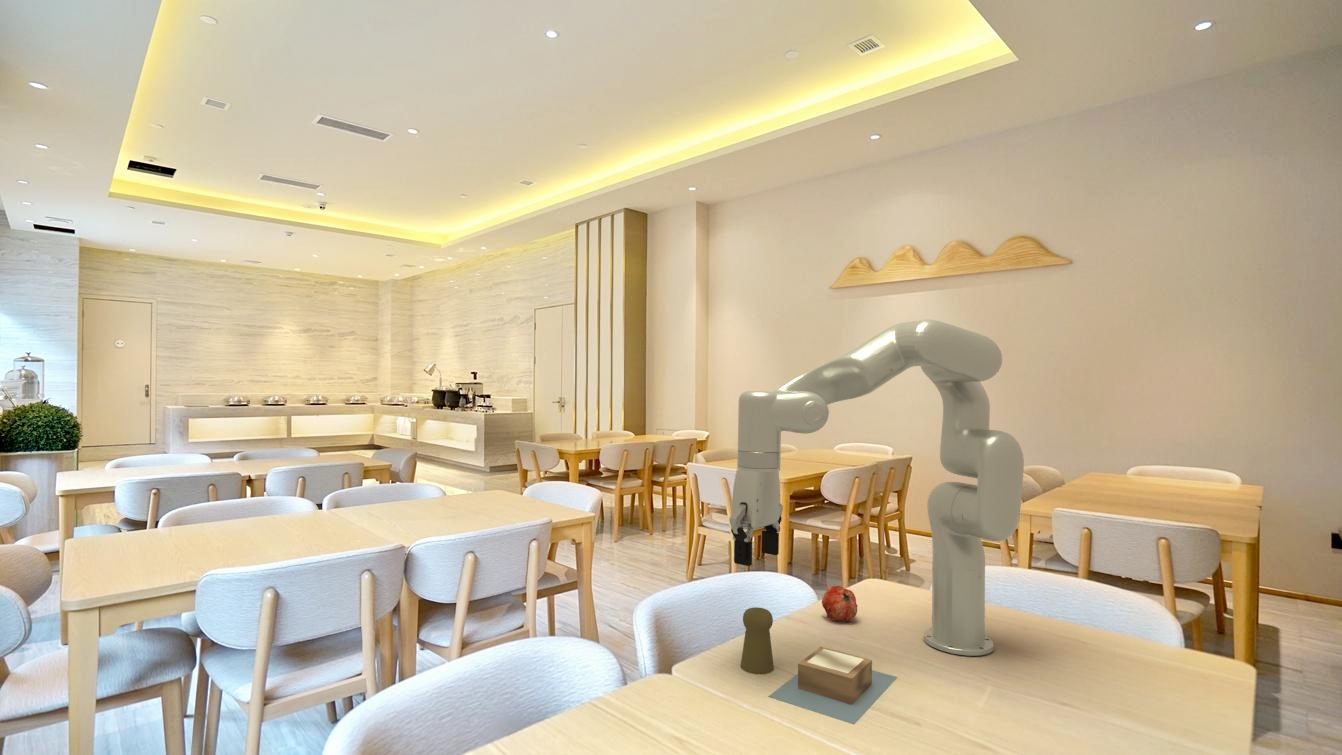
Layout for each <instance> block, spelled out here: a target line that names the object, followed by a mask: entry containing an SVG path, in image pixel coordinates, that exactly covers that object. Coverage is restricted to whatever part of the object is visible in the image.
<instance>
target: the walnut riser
mask: <svg viewBox="0 0 1342 755" xmlns="http://www.w3.org/2000/svg"><path fill="white" fill-rule="evenodd" d="M872 670H873V659H869V658H867V657H862V656H858V655H854V654H850V653H846V652H844V651H839V650H835V649H831V648H826V647H824V646H820V647H818V648H817V649H815V650H814V651H813V652H812V653H810V654H809V655H808V656H806V657H805V658H803V659H802V660H801V661H800V662H798V663H797V674H798V689H801V690H804V691H808V692H811V693H814V694H818V695H821V696H824V697H827V698H831V699H834V700H837V701H841V702H844V703H847V704H850V705H852V704H853V703H854V702H855V701H856V700H857V699H858V698H859V697H860V696H861V695H862V694H863V693H864V692H865V691H866V690H867V689H868V688H869V687H870V686H871V685H872Z"/></svg>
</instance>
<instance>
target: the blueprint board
mask: <svg viewBox="0 0 1342 755" xmlns="http://www.w3.org/2000/svg"><path fill="white" fill-rule="evenodd" d="M897 679H898V676H894V675H893V674H889V673H883V672H880V671H877V670H876V671H875V670H873V669H872V685H871V686H870V687H869V688H868V689H867V690H866V691H865V692H864V693H863V694H862V695H861V696H860V697H859V698H858V699H857V700H856V701H855V702H854V703H853V704H852V705H850V704H847V703H844V702H841V701H837V700H834V699H831V698H827V697H824V696H821V695H818V694H814V693H811V692H808V691H804V690H801V689H798V673H797V674H795V675H794V676H793V677H791V678H790V679H788V680H787V681H786V682H785V683H783V684H782V685H781V686H780V687H778V688H777V689H775V691H774V692H772V693H771V694H769V695H768V696H767V697H768V698H770V699H773V700H774V699H775V700H776V701H779V702H783V703H786V704H789V705H793V706H795V707H798V708H801V709H805V710H808V711H812V712H814V713H817V714H820V715H824V716H826V717H831V718H833V719H836V720H839V721H842V722H845V723H848V724H852V725H855V724H856V723H857V722H858V721H859V720H860V719H861V718H862V717H863V716H864V715H865V713H867V711H869V709H870V708H871V707H872V705H874V703H876V702H877V700H878V699H879V698H880V697H881V696H882V695H883V694H884V693H885V692H886V691H887V689H889V688H890V687H891V686H892V684H893V683H894V682H895V681H896V680H897Z"/></svg>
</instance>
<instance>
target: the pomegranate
mask: <svg viewBox="0 0 1342 755" xmlns="http://www.w3.org/2000/svg"><path fill="white" fill-rule="evenodd" d="M821 605H822V607H823V609H824V610H825V613H826V615H827V617H828V618H830V619H831V620H833V621H836V622H843V621H844V622H846V621H848V622H849V621H851V620H853V619H854V618H855V617H856V616H857V613H858V604H857V598H856V595H855V593H854V591H852V590H850V589H849V588H848V589H847V588H845V587H843V586H842V585H832V586H831V587H829V588H828V589H827V590H826V591H825V593H824V594H823V596H822V599H821Z"/></svg>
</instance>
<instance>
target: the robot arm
mask: <svg viewBox="0 0 1342 755" xmlns="http://www.w3.org/2000/svg"><path fill="white" fill-rule="evenodd" d="M1002 364H1003V355H1002V351H1001V349H1000V347H999V345H998V344H997V343H996V342H995V341H994V340H993V339H992V338H990V337H988V336H986V335H983V334H981V333H978V332H976V331H971V330H968V329H965V328H962V327H959V326H956V325H954V324H951V323H947V322H944V321H939V320H936V319H920V320H914V321H906V322H901V323H900V322H899V323H896V324H893V325H891V326H889V327H888V328H885V329H884V330H882V331H881V332H879V333H878V334H876V335H874V336H873V337H871V338H869V339H868V340H866V341H865V342H864V343H862V344H860V345H859V346H857V347H854V349H852V350H850V351H848V352H847V353H845V354H843V355H842V356H839V357H837V358H835V359H832V360H830V361H828V362H826V363H824V364H822V365H820V366H818V367H815V368H813V369H811V370H809V371H807V372H805V373H803V374H801V375H799V376H797V377H794V379H791V380H790V381H789V382H787V383H786V384H784V385H782V386H781V387H779V388H777V389H775V390H774V391H763V390H762V391H755V390H753V391H752V390H751V391H750V390H749V391H743V392H742V393H740V395H739V397H738V419H737V422H738V425H737V433H738V434H737V461H736V462H737V467H736V471H735V472H736V473H735V477H734V480H733V488H732V489H733V491H732V500H731V501H732V502H731V513H730V514H731V516H730V517H729V519H728V520H729V524H730V532H731V534H732V540H733V541H734V542H733V543H734V544H733V545H734V546H733V562H734V564H736V565H741V566H746V567H750V566H752V564H753V541H751V539H752V536H753V533H754V530H759V529H761V528H762V529H763V530H761V553H763V554H765V555H772V556H778V555H779V549H780V531H781V526H780V525H781V522H782V519H783V518H782V514H783V510H784V505H783V504H782V503H781V484H780V482H781V481H780V471H781V452H782V450H781V448H782V447H781V446H782V442H781V440H782V432H791V433H795V434H812V433H816V432H818V431H819V430H820V429H822V428H823V427H824V426H825V425H826V423H827V422H828V420H829V417H830V416H829V415H830V411H829V406H828V405H830V404H834V403H836V402H842V401H847V400H852V399H856V398H859V397H864V396H867V395H868V394H871V393H872V392H874V391H875V390H877V389H878V388H880V387H882V386H883V385H885V384H886V383H888V382H889V381H891V380H892V379H894V378H896V377H897V376H898V375H900V374H903V372H904V371H906V370H908V369H910V368H913V367H920V368H921V370H922V372H923V373H924V375H925V376H926V377H927V378H928V379H929V380H930V381H931V382H932V383H933V385H934V386H935V388H936V389H937V391H938V392H939V394H940V397H941V400H942V407H943V408H942V421H941V422H942V423H941V436H940V444H939V447H940V448H939V459H940V464H941V466H942V467H943V468H944V470H946V471H947V472H949V473H950V474H953V475H957V476H961V477H968V478H971V479H972V478H973V479H977V484H971V483H966V482H965V483H964V482H960V481H945V482H942V483H939V484H938V485H936V486H935V487H934V488H932V490H931V492H930V494H929V495H928V498H927V503H926V504H927V507H926V508H927V515H928V520H929V525H930V531H931V542H932V544H931V546H932V561H931V562H932V567H931V568H932V574H931V575H932V576H931V577H932V578H931V579H932V582H931V583H932V585H931V588H932V590H931V593H932V594H931V599H932V600H931V628H928V629H926V630H925V631H923V640H924V642H925V643H926V644H927V645H929V646H930V647H932V648H935V649H937V650H939V651H942V652H945V653H949V654H953V655H959V656H968V657H973V656H977V657H978V656H985V655H988V654H991V653H992V652H993V651H994V649H995V648H994V642H993V640H992V639H991V638H990V637H989V636H987V635H986V634H985V633H986V629H985V628H986V588H985V587H986V555H985V553H986V552H985V550H984V545H983V542H982V540H981V539H983V540H986V541H990V542H1001V541H1002V542H1003V541H1006V540H1007V539H1009V538H1011V536H1012V535H1013V534H1014V533H1015V531H1017V527H1018V525H1019V521H1020V516H1021V508H1022V494H1023V483H1024V471H1025V470H1024V469H1025V468H1024V467H1025V459H1024V453H1023V450H1022V447H1021V445H1020V443H1019V442H1018V440H1017V439H1016V438H1015V437H1014V436H1013V435H1012V434H1010V433H1007V432H1005V431H1003V430H997V429H990V414H991V413H990V412H991V410H990V409H991V407H990V406H991V404H990V400H989V396H988V393H987V391H986V389H985V387H984V386H983V384H982V383H981V382H985V381H988V380H991V379H992V378H994V377H995V376H996V375H997V374H998V372H999V371H1000V370H1001V367H1002ZM745 530H746V531H745Z"/></svg>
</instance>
